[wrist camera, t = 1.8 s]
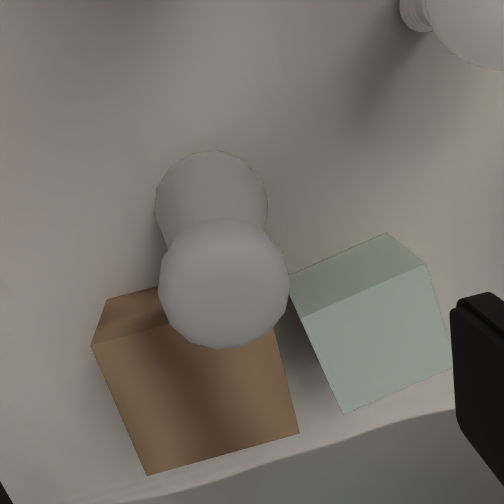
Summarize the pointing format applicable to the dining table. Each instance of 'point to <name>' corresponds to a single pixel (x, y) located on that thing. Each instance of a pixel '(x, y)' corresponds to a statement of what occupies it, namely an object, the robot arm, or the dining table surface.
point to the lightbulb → (462, 27)
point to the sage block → (372, 320)
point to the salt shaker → (218, 252)
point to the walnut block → (188, 386)
